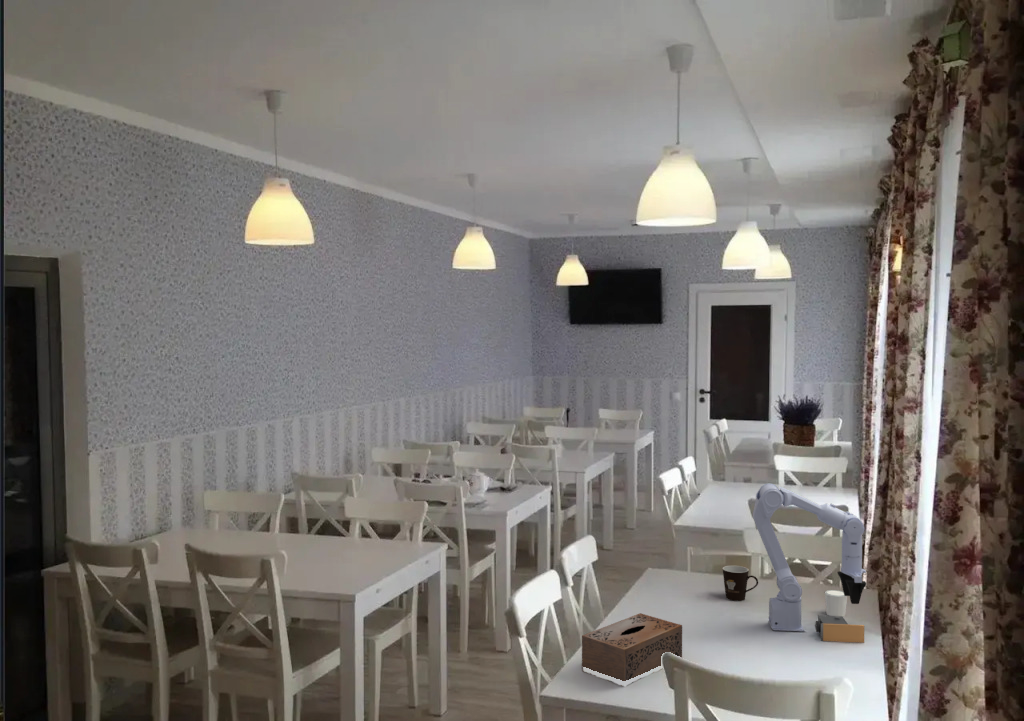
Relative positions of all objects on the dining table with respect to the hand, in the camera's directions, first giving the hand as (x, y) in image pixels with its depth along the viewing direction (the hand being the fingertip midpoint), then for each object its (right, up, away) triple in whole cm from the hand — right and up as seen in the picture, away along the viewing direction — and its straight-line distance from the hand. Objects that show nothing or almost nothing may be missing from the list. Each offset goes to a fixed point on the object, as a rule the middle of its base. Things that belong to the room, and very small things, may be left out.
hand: (851, 599), depth 264 cm
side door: (-6, -10, -9) cm, 15 cm away
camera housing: (-7, -10, -5) cm, 13 cm away
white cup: (+1, -9, +15) cm, 18 cm away
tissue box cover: (-70, -11, -26) cm, 75 cm away
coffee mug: (-26, -9, +31) cm, 41 cm away
